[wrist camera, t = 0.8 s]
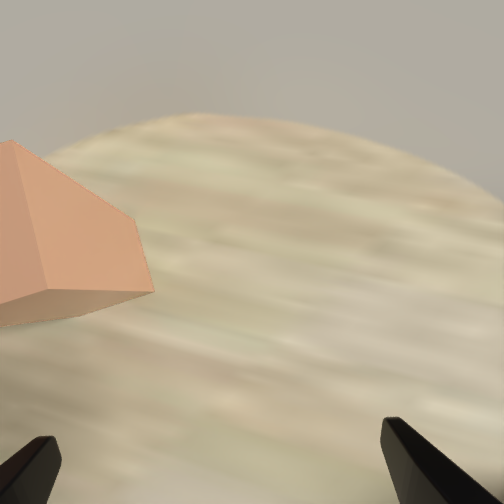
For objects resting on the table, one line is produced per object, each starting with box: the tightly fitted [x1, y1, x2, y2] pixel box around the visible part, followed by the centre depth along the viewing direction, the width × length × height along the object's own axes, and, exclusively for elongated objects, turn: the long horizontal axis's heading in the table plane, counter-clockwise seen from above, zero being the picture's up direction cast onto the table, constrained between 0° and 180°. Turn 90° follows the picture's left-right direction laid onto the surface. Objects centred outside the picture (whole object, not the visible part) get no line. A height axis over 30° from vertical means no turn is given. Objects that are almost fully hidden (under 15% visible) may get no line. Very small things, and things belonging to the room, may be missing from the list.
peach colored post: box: [0, 140, 155, 327], centre depth 16 cm, size 6×6×12 cm
